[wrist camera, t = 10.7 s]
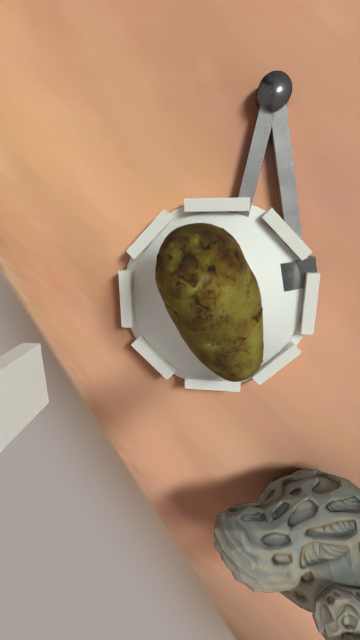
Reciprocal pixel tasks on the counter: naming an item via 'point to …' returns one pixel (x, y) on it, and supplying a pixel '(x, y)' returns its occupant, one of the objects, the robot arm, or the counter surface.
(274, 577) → the teapot
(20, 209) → the counter surface
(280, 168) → the open tongs prop
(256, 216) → the plate
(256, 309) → the potato
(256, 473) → the counter surface
